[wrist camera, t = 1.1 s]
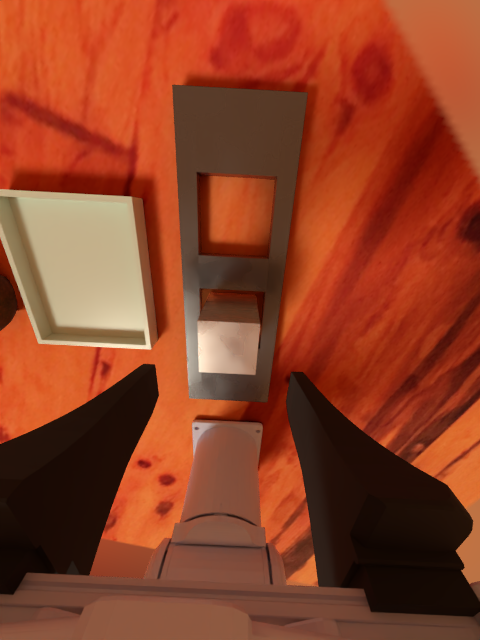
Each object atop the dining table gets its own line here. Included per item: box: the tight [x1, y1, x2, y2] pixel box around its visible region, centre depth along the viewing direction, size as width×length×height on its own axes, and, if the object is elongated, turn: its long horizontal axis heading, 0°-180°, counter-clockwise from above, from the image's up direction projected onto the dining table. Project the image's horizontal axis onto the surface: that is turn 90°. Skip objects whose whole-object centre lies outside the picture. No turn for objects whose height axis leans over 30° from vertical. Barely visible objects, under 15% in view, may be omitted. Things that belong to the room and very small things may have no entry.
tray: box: [0, 189, 158, 349], centre depth 19 cm, size 12×10×2 cm
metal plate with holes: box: [172, 85, 308, 402], centre depth 19 cm, size 24×8×1 cm, turn 177°
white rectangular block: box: [197, 292, 260, 375], centre depth 18 cm, size 4×4×6 cm
